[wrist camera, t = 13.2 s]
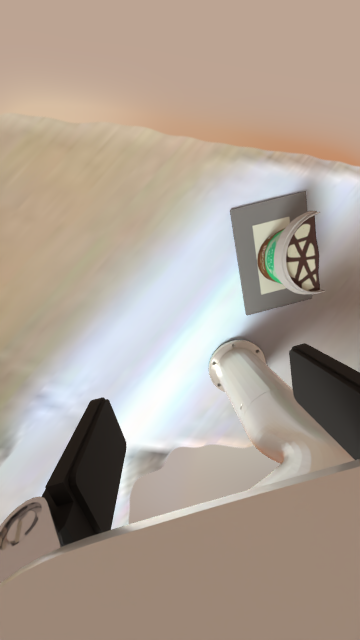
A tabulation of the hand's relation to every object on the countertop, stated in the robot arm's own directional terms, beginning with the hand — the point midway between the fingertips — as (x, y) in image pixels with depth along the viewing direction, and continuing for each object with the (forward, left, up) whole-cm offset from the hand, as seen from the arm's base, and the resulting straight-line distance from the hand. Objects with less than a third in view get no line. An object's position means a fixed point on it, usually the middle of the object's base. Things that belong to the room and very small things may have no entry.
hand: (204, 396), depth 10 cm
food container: (+3, -19, -30) cm, 36 cm away
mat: (+3, -21, -30) cm, 37 cm away
